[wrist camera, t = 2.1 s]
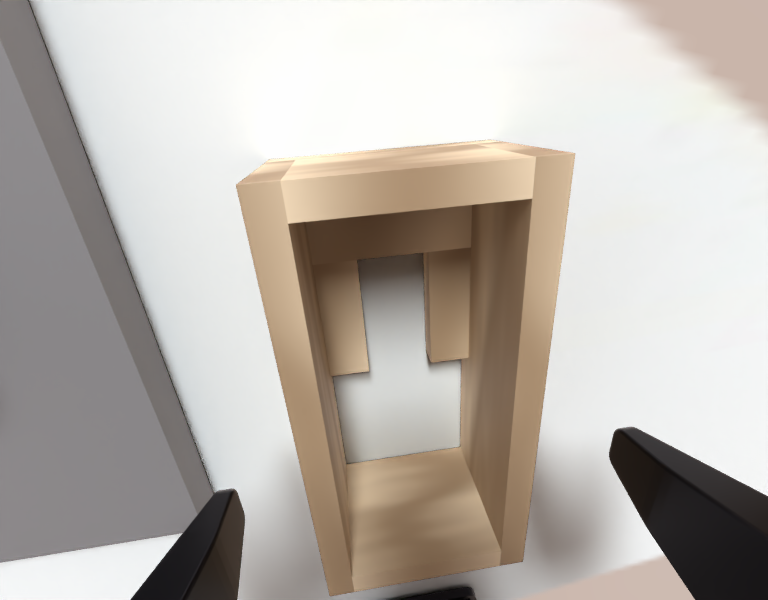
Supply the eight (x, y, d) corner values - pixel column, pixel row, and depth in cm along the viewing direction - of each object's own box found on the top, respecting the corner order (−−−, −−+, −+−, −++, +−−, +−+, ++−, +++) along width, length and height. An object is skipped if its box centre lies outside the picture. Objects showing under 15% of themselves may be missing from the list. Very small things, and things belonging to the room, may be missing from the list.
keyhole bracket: (490, 139, 12) (575, 153, 8) (477, 457, 17) (522, 561, 13) (269, 159, 11) (235, 184, 7) (329, 480, 17) (329, 596, 13)
